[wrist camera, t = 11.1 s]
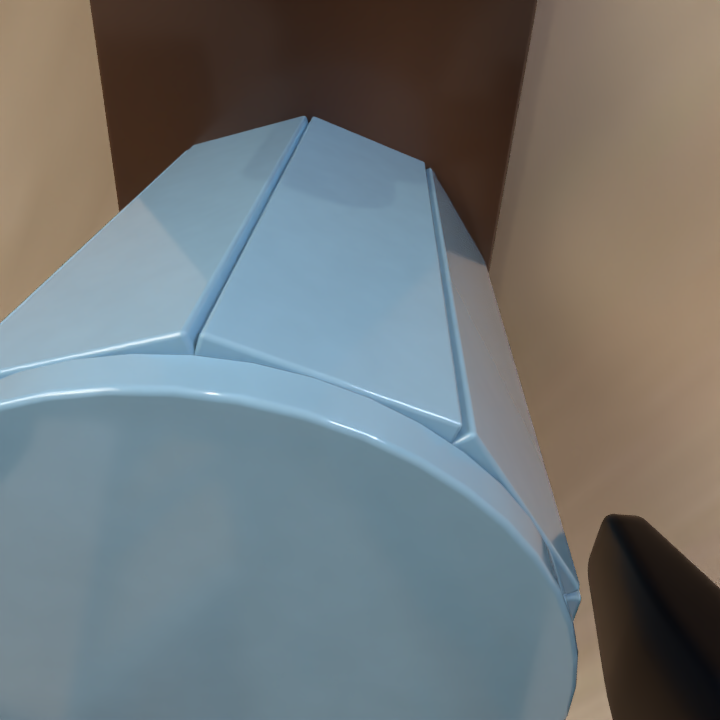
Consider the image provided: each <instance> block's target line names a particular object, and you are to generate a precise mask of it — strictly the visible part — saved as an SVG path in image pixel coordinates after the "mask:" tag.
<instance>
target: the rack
mask: <svg viewBox="0 0 720 720" xmlns="http://www.w3.org/2000/svg"><path fill="white" fill-rule="evenodd" d="M90 5H91V12H92V19H93V26H94V33H95V40H96V48H97V55H98V62H99V69H100V76H101V83H102V90H103V98H104V105H105V112H106V119H107V126H108V133H109V140H110V148H111V155H112V162H113V169H114V176H115V183H116V190H117V198H118V205H119V212H120V211H121V210H122V209H123V208H124V207H125V206H126V205H128V204H129V203H130V202H131V201H132V200H133V199H134V198H135V197H136V196H137V195H138V194H139V193H140V192H142V191H143V190H144V189H145V188H146V187H147V186H148V185H149V184H150V183H151V182H152V181H153V180H154V179H156V178H157V177H158V176H159V175H160V174H161V173H162V172H163V171H164V170H165V169H166V168H167V167H169V166H170V165H171V164H172V163H173V162H174V161H175V160H176V159H177V158H178V157H179V156H180V155H181V154H183V153H184V152H185V151H186V150H189V149H190V148H191V147H192V146H193V145H196V144H200V143H203V142H207V141H211V140H215V139H218V138H222V137H226V136H230V135H233V134H237V133H241V132H245V131H248V130H252V129H256V128H260V127H263V126H267V125H271V124H275V123H278V122H282V121H286V120H290V119H293V118H297V117H301V116H306V118H307V120H308V124H309V122H310V120H311V118H312V117H317V118H319V119H322V120H324V121H327V122H329V123H331V124H334V125H336V126H339V127H341V128H343V129H346V130H348V131H351V132H353V133H355V134H358V135H360V136H363V137H365V138H367V139H370V140H372V141H375V142H377V143H379V144H382V145H384V146H387V147H389V148H391V149H394V150H396V151H399V152H401V153H403V154H406V155H408V156H411V157H413V158H415V159H418V160H420V161H423V162H424V163H425V166H426V169H428V168H431V169H432V170H433V172H434V173H435V175H436V177H437V179H438V180H439V182H440V184H441V186H442V187H443V189H444V191H445V193H446V194H447V196H448V198H449V200H450V201H451V203H452V205H453V206H454V208H455V210H456V212H457V213H458V215H459V217H460V219H461V220H462V222H463V224H464V226H465V227H466V229H467V231H468V233H469V234H470V236H471V238H472V239H473V241H474V243H475V245H476V246H477V248H478V250H479V252H480V253H481V255H482V257H483V259H484V260H485V264H486V267H487V270H488V274H489V269H490V263H491V258H492V252H493V246H494V241H495V235H496V230H497V224H498V219H499V213H500V207H501V202H502V196H503V191H504V185H505V179H506V174H507V168H508V163H509V157H510V151H511V146H512V140H513V135H514V129H515V123H516V118H517V112H518V107H519V101H520V95H521V90H522V84H523V79H524V73H525V68H526V62H527V56H528V51H529V45H530V40H531V34H532V28H533V23H534V17H535V12H536V6H537V0H90Z"/></svg>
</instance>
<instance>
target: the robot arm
mask: <svg viewBox="0 0 720 720" xmlns="http://www.w3.org/2000/svg"><path fill="white" fill-rule="evenodd" d="M588 580H589V586H590V592H591V599H592V605H593V611H594V618H595V624H596V631H597V637H598V643H599V650H600V656H601V662H602V669H603V675H604V681H605V687H606V692H607V698H608V702H609V706H610V710H611V714H612V718H613V720H720V588H719V587H718V586H717V585H715V584H714V583H713V582H712V581H711V580H710V579H709V578H708V577H707V576H706V575H705V574H704V573H702V572H701V571H700V570H699V569H698V568H697V567H696V566H695V565H694V564H693V563H692V562H691V561H689V560H688V559H687V558H686V557H685V556H684V555H683V554H682V553H681V552H680V551H679V550H677V549H676V548H675V547H674V546H673V545H672V544H671V543H670V542H669V541H668V540H667V539H666V538H664V537H663V536H662V535H661V534H660V533H659V532H658V531H657V530H656V529H655V528H654V527H652V526H651V525H650V524H649V523H648V522H647V521H646V520H644V519H643V518H641V517H639V516H632V515H619V514H610V515H607V516H606V517H605V518H604V520H603V522H602V524H601V527H600V529H599V532H598V535H597V538H596V541H595V543H594V546H593V549H592V552H591V555H590V558H589V562H588Z"/></svg>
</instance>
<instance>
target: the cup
mask: <svg viewBox="0 0 720 720" xmlns="http://www.w3.org/2000/svg"><path fill="white" fill-rule="evenodd" d="M580 601H581V595H580V592H579V581H578V577H577V574H576V570H575V567H574V564H573V560H572V557H571V553H570V550H569V547H568V543H567V540H566V536H565V533H564V530H563V526H562V523H561V519H560V516H559V513H558V509H557V506H556V502H555V499H554V495H553V492H552V489H551V485H550V482H549V478H548V475H547V472H546V468H545V465H544V461H543V458H542V455H541V451H540V448H539V444H538V441H537V437H536V434H535V431H534V427H533V424H532V420H531V417H530V414H529V410H528V407H527V403H526V400H525V397H524V393H523V390H522V386H521V383H520V380H519V376H518V373H517V369H516V366H515V362H514V359H513V356H512V352H511V349H510V345H509V342H508V339H507V335H506V332H505V328H504V325H503V322H502V318H501V315H500V311H499V308H498V304H497V301H496V298H495V294H494V291H493V287H492V284H491V281H490V277H489V274H488V270H487V267H486V264H485V260H484V259H483V257H482V255H481V253H480V252H479V250H478V248H477V246H476V245H475V243H474V241H473V239H472V238H471V236H470V234H469V233H468V231H467V229H466V227H465V226H464V224H463V222H462V220H461V219H460V217H459V215H458V213H457V212H456V210H455V208H454V206H453V205H452V203H451V201H450V200H449V198H448V196H447V194H446V193H445V191H444V189H443V187H442V186H441V184H440V182H439V180H438V179H437V177H436V175H435V173H434V172H433V170H432V169H431V168H428V169H426V166H425V163H424V162H423V161H420V160H418V159H415V158H413V157H411V156H408V155H406V154H403V153H401V152H399V151H396V150H394V149H391V148H389V147H387V146H384V145H382V144H379V143H377V142H375V141H372V140H370V139H367V138H365V137H363V136H360V135H358V134H355V133H353V132H351V131H348V130H346V129H343V128H341V127H339V126H336V125H334V124H331V123H329V122H327V121H324V120H322V119H319V118H317V117H312V118H311V120H310V122H309V124H308V120H307V118H306V116H301V117H297V118H293V119H290V120H286V121H282V122H278V123H275V124H271V125H267V126H263V127H260V128H256V129H252V130H248V131H245V132H241V133H237V134H233V135H230V136H226V137H222V138H218V139H215V140H211V141H207V142H203V143H200V144H196V145H193V146H192V147H191V148H190V149H189V150H186V151H185V152H184V153H183V154H181V155H180V156H179V157H178V158H177V159H176V160H175V161H174V162H173V163H172V164H171V165H170V166H169V167H167V168H166V169H165V170H164V171H163V172H162V173H161V174H160V175H159V176H158V177H157V178H156V179H154V180H153V181H152V182H151V183H150V184H149V185H148V186H147V187H146V188H145V189H144V190H143V191H142V192H140V193H139V194H138V195H137V196H136V197H135V198H134V199H133V200H132V201H131V202H130V203H129V204H128V205H126V206H125V207H124V208H123V209H122V210H121V211H120V212H119V213H118V214H117V215H116V216H115V217H113V218H112V219H111V220H110V221H109V222H108V223H107V224H106V225H105V226H104V227H103V228H102V229H101V230H99V231H98V232H97V233H96V234H95V235H94V236H93V237H92V238H91V239H90V240H89V241H88V242H87V243H85V244H84V245H83V246H82V247H81V248H80V249H79V250H78V251H77V252H76V253H75V254H74V255H73V256H71V257H70V258H69V259H68V260H67V261H66V262H65V263H64V264H63V265H62V266H61V267H60V268H58V269H57V270H56V271H55V272H54V273H53V274H52V275H51V276H50V277H49V278H48V279H47V280H46V281H44V282H43V283H42V284H41V285H40V286H39V287H38V288H37V289H36V290H35V291H34V292H33V293H32V294H30V295H29V296H28V297H27V298H26V299H25V300H24V301H23V302H22V303H21V304H20V305H19V306H17V307H16V308H15V309H14V310H13V311H12V312H11V313H10V314H9V315H8V316H7V317H6V318H5V319H3V320H2V321H1V322H0V720H565V719H566V717H567V716H568V712H569V709H570V705H571V702H572V698H573V695H574V691H575V688H576V681H577V665H578V649H577V643H576V636H575V630H574V624H573V621H574V618H575V615H576V612H577V610H578V607H579V604H580Z"/></svg>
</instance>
